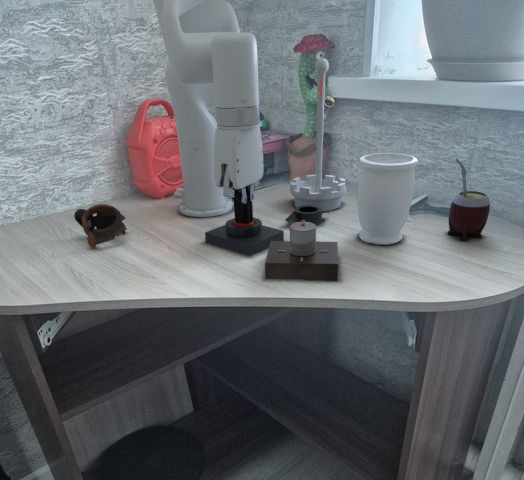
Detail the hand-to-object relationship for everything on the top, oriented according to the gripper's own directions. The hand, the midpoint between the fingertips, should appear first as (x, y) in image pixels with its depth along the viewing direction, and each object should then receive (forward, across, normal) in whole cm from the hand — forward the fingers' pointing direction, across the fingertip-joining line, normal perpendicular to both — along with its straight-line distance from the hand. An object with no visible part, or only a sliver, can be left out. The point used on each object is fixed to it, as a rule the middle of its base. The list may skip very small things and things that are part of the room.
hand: (244, 221), depth 93 cm
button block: (+4, 0, 0) cm, 4 cm away
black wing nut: (+4, -16, +6) cm, 18 cm away
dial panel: (+4, +6, +16) cm, 17 cm away
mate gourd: (+5, -22, +37) cm, 43 cm away
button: (+2, 0, 0) cm, 2 cm away
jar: (+4, -14, +23) cm, 27 cm away
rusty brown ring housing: (+4, +12, -27) cm, 30 cm away
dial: (+1, +6, +16) cm, 17 cm away
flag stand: (+4, -29, +2) cm, 30 cm away
